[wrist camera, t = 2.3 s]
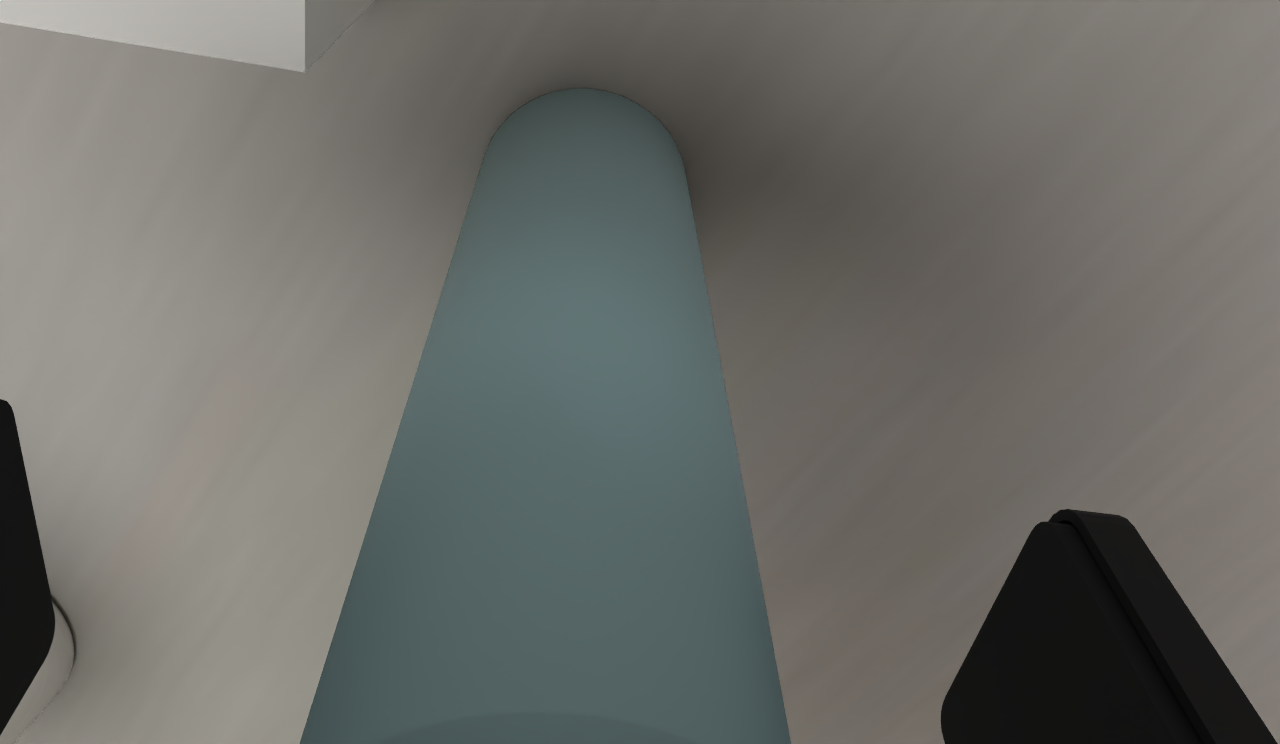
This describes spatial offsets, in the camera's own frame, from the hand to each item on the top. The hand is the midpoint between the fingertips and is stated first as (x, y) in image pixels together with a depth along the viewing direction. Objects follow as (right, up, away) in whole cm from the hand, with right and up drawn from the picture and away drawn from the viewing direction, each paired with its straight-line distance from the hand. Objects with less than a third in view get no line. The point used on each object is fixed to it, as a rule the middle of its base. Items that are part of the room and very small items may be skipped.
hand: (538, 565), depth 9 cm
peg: (0, +5, +10) cm, 11 cm away
